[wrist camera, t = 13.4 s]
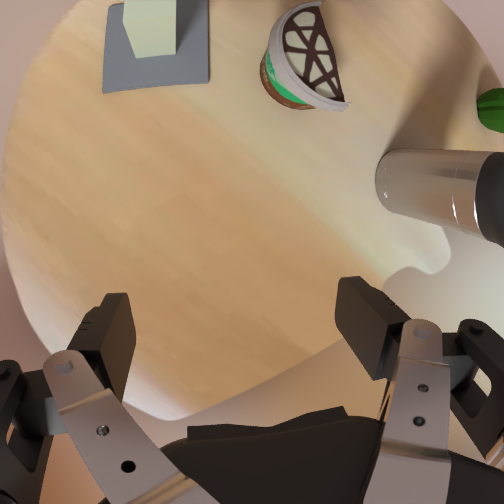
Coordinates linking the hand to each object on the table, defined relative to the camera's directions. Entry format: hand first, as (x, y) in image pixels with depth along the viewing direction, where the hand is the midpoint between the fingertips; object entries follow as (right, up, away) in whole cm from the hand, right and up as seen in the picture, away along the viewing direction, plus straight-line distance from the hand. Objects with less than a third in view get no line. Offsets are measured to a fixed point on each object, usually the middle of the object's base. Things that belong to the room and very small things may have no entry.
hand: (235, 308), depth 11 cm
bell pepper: (+43, +28, +30) cm, 59 cm away
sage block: (-10, +26, +16) cm, 32 cm away
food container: (+3, +23, +21) cm, 32 cm away
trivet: (-10, +26, +17) cm, 33 cm away
